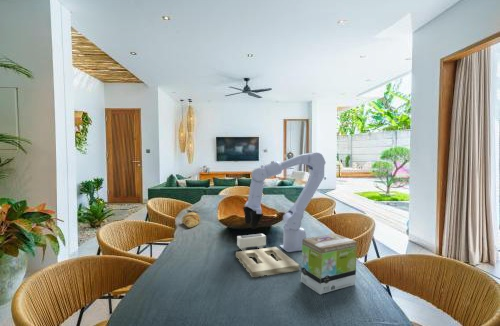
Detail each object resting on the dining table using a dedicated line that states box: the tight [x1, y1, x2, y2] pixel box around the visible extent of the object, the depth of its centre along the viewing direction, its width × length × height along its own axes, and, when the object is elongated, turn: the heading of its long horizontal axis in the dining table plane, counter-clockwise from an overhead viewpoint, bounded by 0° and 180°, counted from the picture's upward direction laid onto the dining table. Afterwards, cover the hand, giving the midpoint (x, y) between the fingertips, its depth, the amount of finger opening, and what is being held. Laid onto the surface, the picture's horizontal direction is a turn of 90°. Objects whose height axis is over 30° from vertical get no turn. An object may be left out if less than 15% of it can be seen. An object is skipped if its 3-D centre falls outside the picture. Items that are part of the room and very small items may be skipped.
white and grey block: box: [236, 233, 267, 251], centre depth 124 cm, size 12×4×6 cm, turn 110°
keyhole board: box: [235, 246, 300, 278], centre depth 109 cm, size 18×20×2 cm
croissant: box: [181, 211, 201, 228], centre depth 165 cm, size 21×10×8 cm, turn 7°
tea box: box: [300, 233, 358, 296], centre depth 92 cm, size 15×10×15 cm, turn 117°
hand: (250, 225), depth 123 cm, fingers open, 7 cm apart
